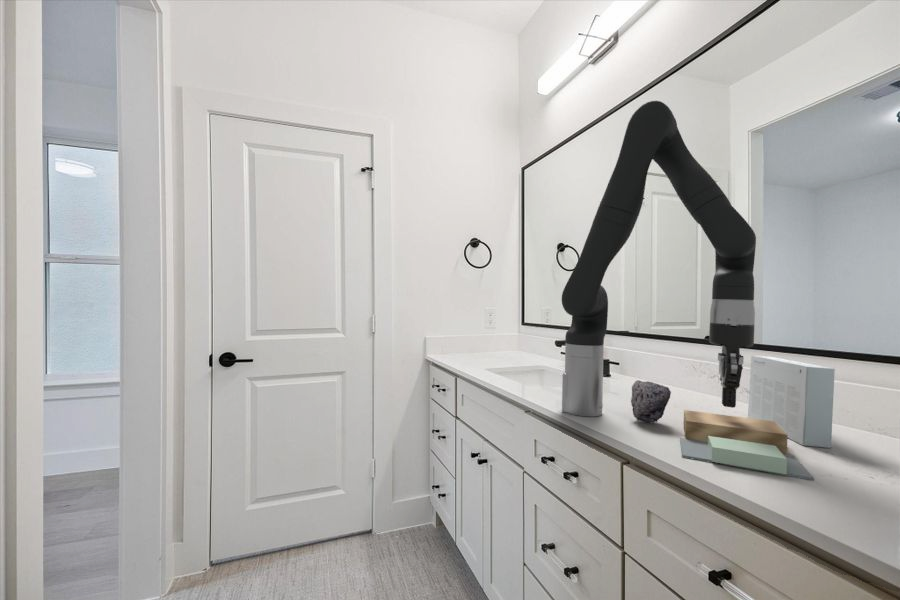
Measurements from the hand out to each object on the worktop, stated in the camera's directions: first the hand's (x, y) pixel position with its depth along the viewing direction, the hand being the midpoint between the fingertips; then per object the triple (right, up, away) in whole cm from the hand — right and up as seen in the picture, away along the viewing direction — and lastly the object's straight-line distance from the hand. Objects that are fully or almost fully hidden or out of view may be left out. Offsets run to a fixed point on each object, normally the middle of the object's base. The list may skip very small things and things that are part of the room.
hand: (728, 406), depth 82 cm
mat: (-5, -7, -10) cm, 13 cm away
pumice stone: (-11, -7, +11) cm, 17 cm away
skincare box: (+18, -8, +7) cm, 20 cm away
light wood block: (0, -7, -1) cm, 7 cm away
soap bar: (-6, -4, -12) cm, 14 cm away
